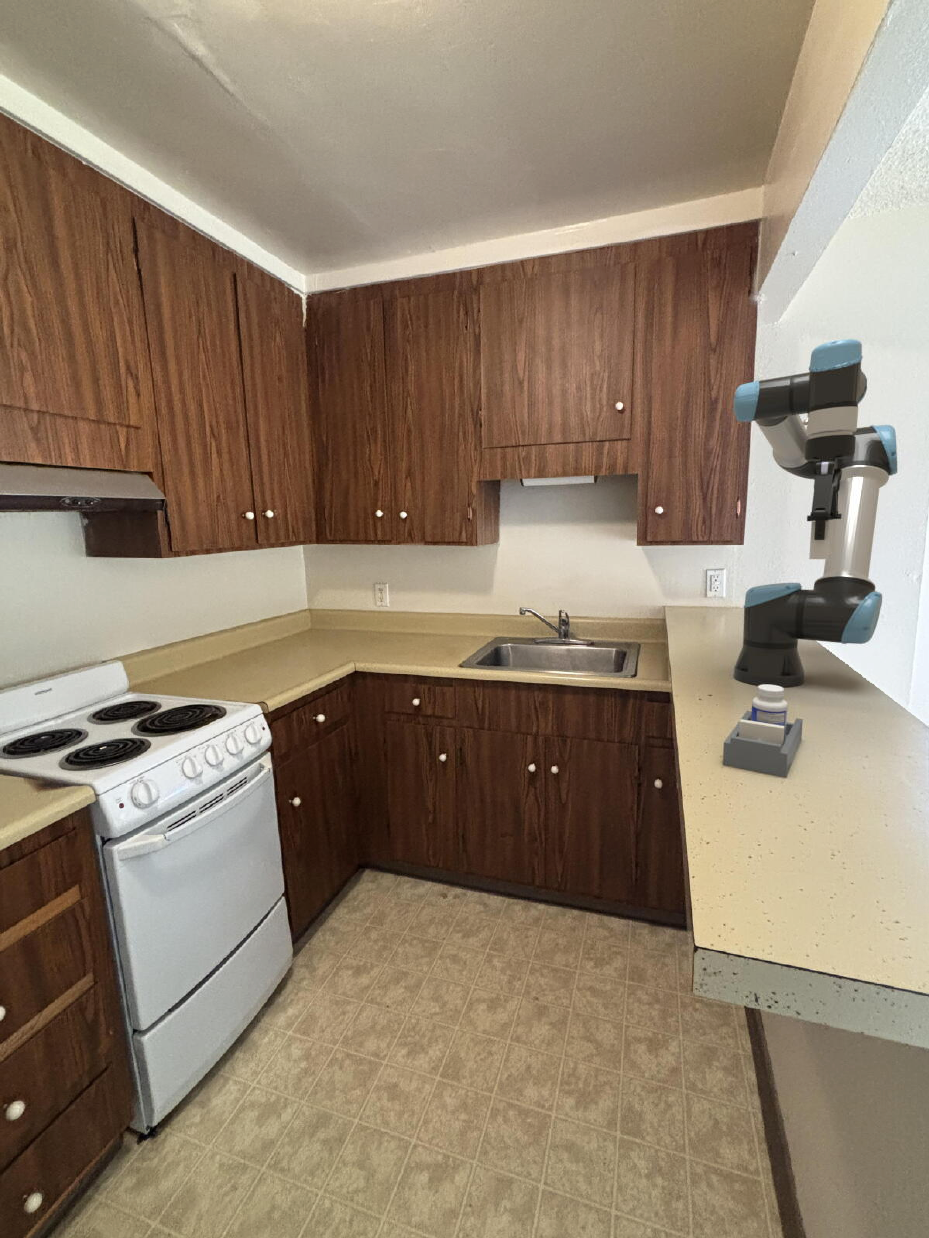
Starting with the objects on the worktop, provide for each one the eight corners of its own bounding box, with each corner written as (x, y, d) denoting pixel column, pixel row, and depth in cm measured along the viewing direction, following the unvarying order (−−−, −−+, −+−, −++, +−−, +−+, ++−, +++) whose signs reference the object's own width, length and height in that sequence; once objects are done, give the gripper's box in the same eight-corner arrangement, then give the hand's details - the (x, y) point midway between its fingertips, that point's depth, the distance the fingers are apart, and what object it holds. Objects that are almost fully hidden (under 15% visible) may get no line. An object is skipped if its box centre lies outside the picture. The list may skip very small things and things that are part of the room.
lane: (746, 730, 106) (747, 705, 105) (801, 739, 100) (803, 713, 99) (722, 764, 91) (723, 736, 91) (786, 777, 86) (787, 747, 85)
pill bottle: (754, 733, 102) (756, 681, 100) (788, 739, 98) (791, 685, 97) (746, 742, 98) (749, 688, 96) (781, 749, 94) (784, 693, 93)
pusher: (739, 747, 95) (741, 719, 94) (782, 755, 91) (784, 726, 91) (733, 757, 91) (734, 727, 91) (778, 766, 88) (779, 735, 87)
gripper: (813, 444, 112) (807, 552, 115) (796, 431, 92) (789, 561, 96) (859, 440, 107) (851, 552, 111) (851, 425, 88) (842, 561, 91)
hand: (822, 556), depth 103 cm, fingers open, 13 cm apart
